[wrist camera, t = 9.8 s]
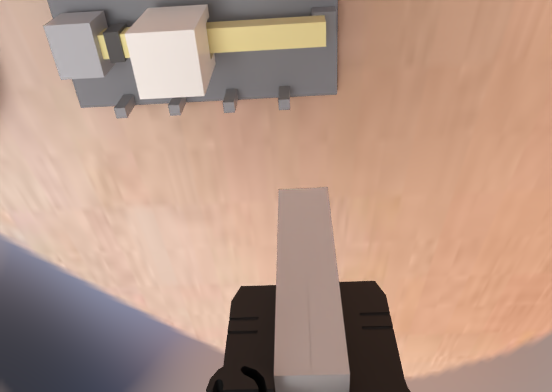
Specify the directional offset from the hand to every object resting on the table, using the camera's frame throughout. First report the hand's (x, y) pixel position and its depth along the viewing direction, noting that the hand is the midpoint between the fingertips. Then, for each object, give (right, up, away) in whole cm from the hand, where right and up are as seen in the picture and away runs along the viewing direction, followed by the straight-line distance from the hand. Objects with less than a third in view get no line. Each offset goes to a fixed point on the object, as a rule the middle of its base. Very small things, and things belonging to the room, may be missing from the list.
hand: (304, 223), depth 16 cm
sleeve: (-7, +12, +18) cm, 23 cm away
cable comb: (-7, +13, +20) cm, 25 cm away
